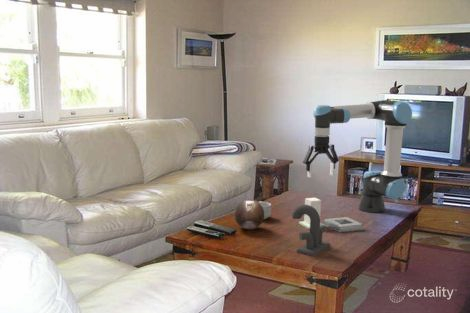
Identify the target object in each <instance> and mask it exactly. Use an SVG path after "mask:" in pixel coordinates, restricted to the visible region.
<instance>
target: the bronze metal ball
mask: <svg viewBox="0 0 470 313" xmlns="http://www.w3.org/2000/svg"><path fill="white" fill-rule="evenodd" d="M258 202H259V201H257V200H255V199H244V200H242V201H241V202H239V203H238V204H237V205H236V207H235V209H234V219H235V221H236V223H237V225H238V226H239V227H241V228H242V229H244V230H245V229H246V230H255V229H257V228H259V226H261V225H262V223H263V221H264V220H265V219H264V210H263V207H262V206H261V205H260V204H259V203H258Z"/></svg>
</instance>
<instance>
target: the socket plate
mask: <svg viewBox="0 0 470 313" xmlns="http://www.w3.org/2000/svg"><path fill="white" fill-rule="evenodd" d="M323 224H324V225H325V226H326V227H328V228H330V229H332V230H334V231H336V232H338V233H347V232H355V231H356V232H357V231H363V230H364V229H363V228H364V224H363V223H361V222H359V221H357V220H354V219H352V218H350V217H348V216H343V217H335V218H334V217H333V218H324V223H323Z"/></svg>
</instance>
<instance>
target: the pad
mask: <svg viewBox="0 0 470 313" xmlns="http://www.w3.org/2000/svg"><path fill="white" fill-rule="evenodd" d="M298 224H299V225H301V226H303V227H304V228H306V229H308V230H310V225H308V224H306V223H304V220H302V221H301V220H300V221H298ZM324 224H325V223H322V222H320V226H321V225H324ZM324 226H326V225H324Z"/></svg>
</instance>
